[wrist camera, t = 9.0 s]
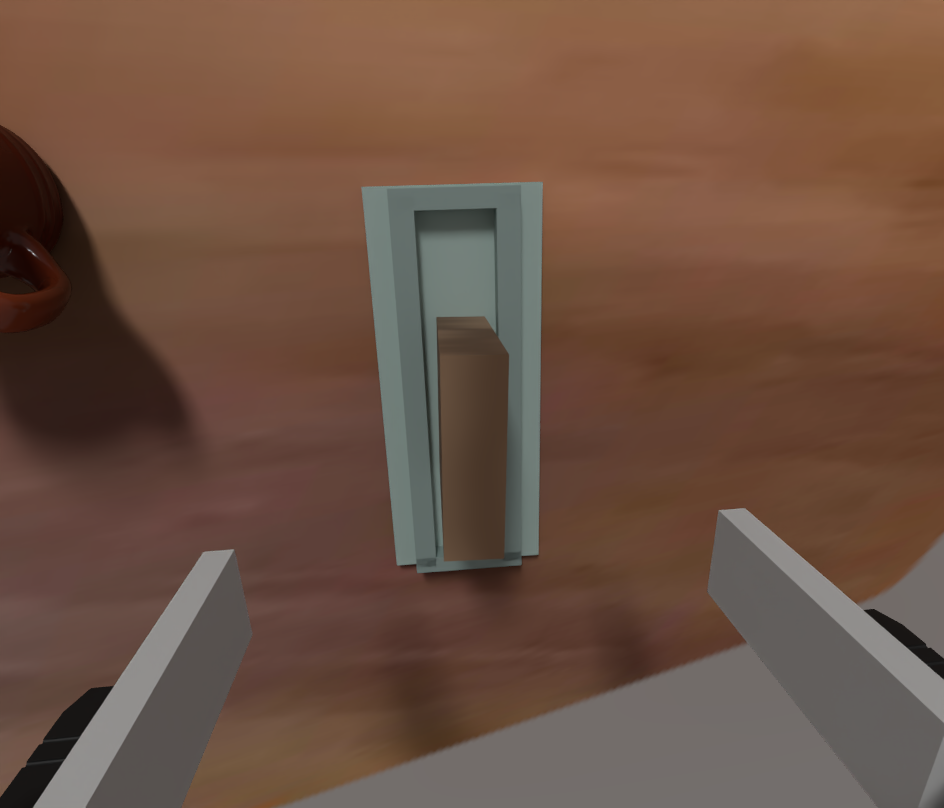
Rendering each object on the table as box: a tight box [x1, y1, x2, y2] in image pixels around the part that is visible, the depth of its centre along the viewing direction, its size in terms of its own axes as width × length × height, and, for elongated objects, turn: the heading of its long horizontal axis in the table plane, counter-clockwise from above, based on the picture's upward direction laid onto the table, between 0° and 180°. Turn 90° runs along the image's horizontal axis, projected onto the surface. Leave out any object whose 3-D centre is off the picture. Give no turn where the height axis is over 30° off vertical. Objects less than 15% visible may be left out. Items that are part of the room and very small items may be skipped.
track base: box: [362, 182, 543, 573], centre depth 29 cm, size 9×22×2 cm, turn 2°
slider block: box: [436, 316, 509, 562], centre depth 25 cm, size 3×9×9 cm, turn 0°
